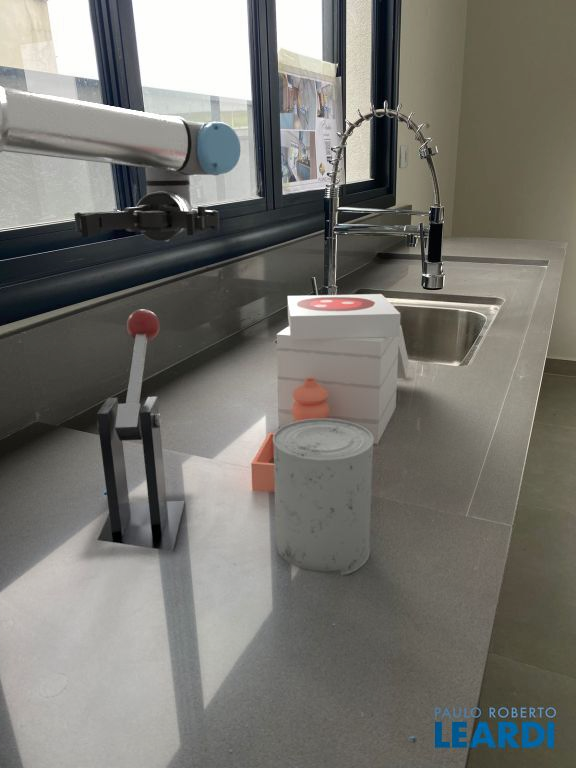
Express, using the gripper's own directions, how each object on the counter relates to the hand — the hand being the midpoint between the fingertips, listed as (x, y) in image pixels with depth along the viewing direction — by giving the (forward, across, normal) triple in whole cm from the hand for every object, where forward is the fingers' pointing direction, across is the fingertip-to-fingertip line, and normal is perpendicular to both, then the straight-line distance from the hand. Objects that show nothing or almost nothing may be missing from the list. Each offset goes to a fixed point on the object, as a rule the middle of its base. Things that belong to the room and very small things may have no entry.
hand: (136, 225), depth 78 cm
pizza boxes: (-10, -29, -30) cm, 43 cm away
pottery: (+10, -21, -30) cm, 38 cm away
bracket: (+26, -3, -30) cm, 40 cm away
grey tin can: (+29, -21, -30) cm, 47 cm away
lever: (+19, -3, -15) cm, 24 cm away
